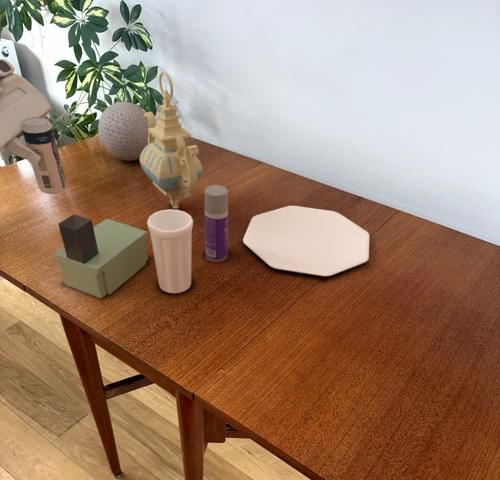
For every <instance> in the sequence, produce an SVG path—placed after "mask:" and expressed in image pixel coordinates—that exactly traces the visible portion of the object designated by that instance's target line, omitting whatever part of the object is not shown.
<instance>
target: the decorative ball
mask: <svg viewBox="0 0 500 480" xmlns="http://www.w3.org/2000/svg"><path fill="white" fill-rule="evenodd" d="M144 113H146V111H145V110H144V109H143V108H141V106H139V105H136V104H135V103H132V102H128V101H119V102H118V101H117V102H113V103H112V104H110V105H109V106H107V107H106V108H105V109H104V110H103V112H102V113H101V115H100V117H99V119H98V125H97V126H98V127H97V129H98V130H97V131H98V137H99V140H100V142H101V144H102V146H103V148H104V149H105V150H106V151H107V152H108V153H109V154H110V155H111V156H113V157H115V158H116V159H119V160H122V161H127V162H128V161H129V162H131V161H136V160H140V155H141V153H142V151H143V150H144V148H145V147H146V146H147V145H148V134H149V131H148V129H149V122H148V120H144V115H145V114H144Z"/></svg>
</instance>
